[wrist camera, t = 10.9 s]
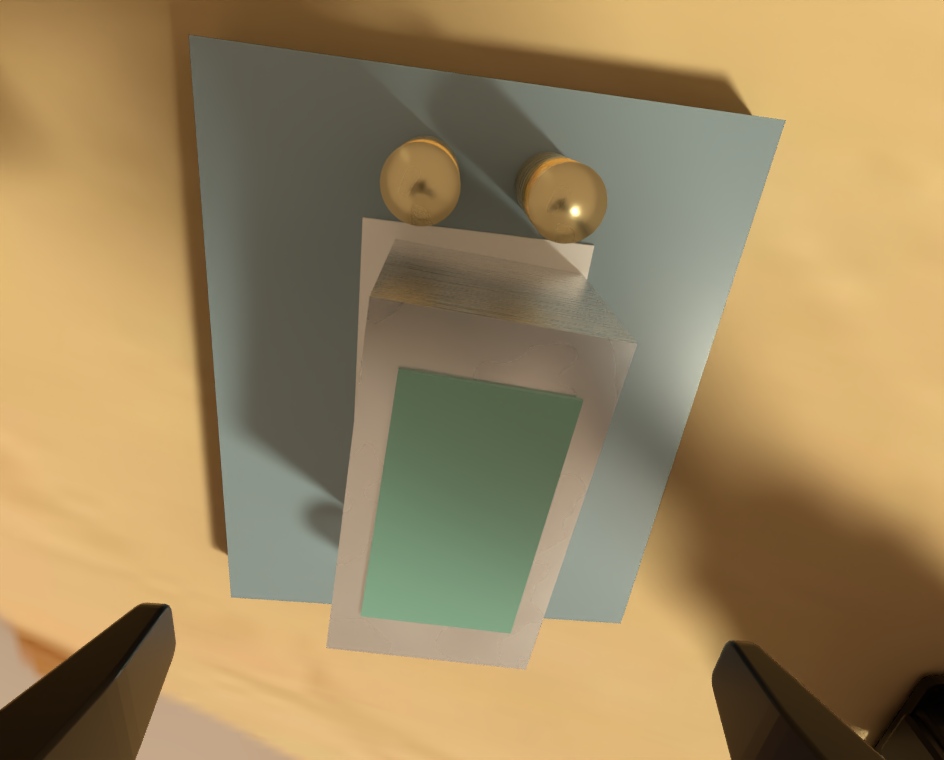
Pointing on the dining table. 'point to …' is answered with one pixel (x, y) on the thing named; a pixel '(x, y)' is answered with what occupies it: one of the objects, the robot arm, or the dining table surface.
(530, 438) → the block
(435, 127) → the pin tray
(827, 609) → the dining table surface
